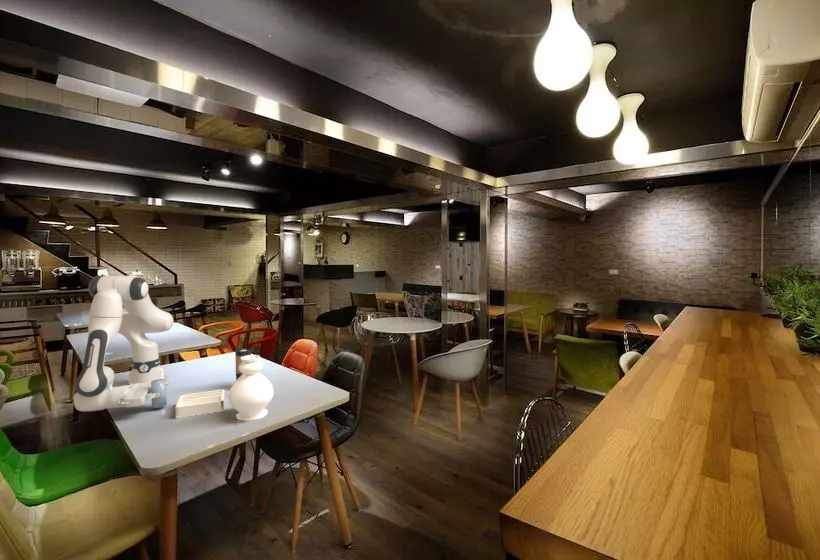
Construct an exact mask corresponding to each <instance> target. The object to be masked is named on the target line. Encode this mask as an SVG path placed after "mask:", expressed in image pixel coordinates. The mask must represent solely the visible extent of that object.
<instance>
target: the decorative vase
mask: <svg viewBox="0 0 820 560" xmlns="http://www.w3.org/2000/svg"><path fill="white" fill-rule="evenodd" d="M260 360H261V355H258V354H251V355H248V356H244V357H241V361H243V362H242V363H241V364H240V365H239V371H240V372H242V373H243V374H242V375H241V376H240V377H239V378H238V379H237V380H235V381H234V383H232V385H231V387H230V389H229V391H228V403H229V404H230V406H231V407H232V408H233V409H235V410H236V411H237V413H236V415H235V418H236V420H238V421H242V422H248V421H249V422H251V421H256V420H259V419H262V418H264V417H265V416H267V415H268V412H269V410H268V409H267V408H266V407H267V406H268V404H270V402H271V400H272V399H273V397H274V392H275V391H274V386H273V384H272V382H271V381H270V380H269V379H268V378H267V377H266V376H265V375H264V374H262V373H261V372H260V371H261V370H262V369H263V366H264V365H263V363H262V362H261V361H260Z"/></svg>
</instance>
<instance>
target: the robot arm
mask: <svg viewBox="0 0 820 560" xmlns="http://www.w3.org/2000/svg"><path fill="white" fill-rule="evenodd" d="M88 292H89V294H90V296H91V298H93V299H92V302H91V304H90V305H91V306H90V309H89V313H88V314H89V315H88V316H89V317H88V326H87V327H88V328H87V329H88V331H87V332H88V333H87V343H86V348H85V353H84V360H83V365H82V369H81V371H80V373H79V375H78V376H77V378H76V379H75V381H74V390H75V392H76V393H75V394H74V395H73V400H72V403H73V406H74V408H75V409H76V410H77V411H80V412H96V411H97V412H98V411H103V410H105V409H106V410H107V409H118V408H131V407H141V406H144V405H145V404H146V402H147V401H148V400H152V398H155V397H159V396H160V392H155V393H152V394H151V382H152V381H154V380H158V379H165V380H166V385H168V384H169V380H168V377H167V375H166V374H164V368H163V367H162V366H161V358H160V356H159V352H160V351H159V344H158V343H157V342H156V341H155V340H154V339H150V338H149V337H147V335H146V334H153V333H154V334H156V333H159V334H160V333H163V332H168V331H169V330H171V329H172V327H173V325H174V317H173V316H172V314H171V313H170V312H167V311H165V310H162V309H161V308H159V307H157V306H156V305H155V304H154V303H153V301H152V299H151V297H150V294H149V283H148V281H147V280H146V279H145V278H142V277H139V276H138V275H133V274H129V275H95V276H94V277H93V278H91V279H90V280H89V283H88ZM123 308H124V309H123ZM123 310H124V311H126V312H127V313H124V312H123ZM118 334H120V335H122V336H123V337H124V338H125V339H126V340H127V341H128V343H129V344H130V347H131V352H132V361H131V369H132V370H130V371H129V372H128V383H125V384H123V385H120V386H114V382H115V381H114V380H115V376H116V375H115V371H114V370H113V368H112V367H110V366H106V365H105V360H106V352H107V349H108V346H109V345H110V343H111V341H112V340H114V337H116V336H117V335H118Z"/></svg>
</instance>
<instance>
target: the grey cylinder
mask: <svg viewBox="0 0 820 560" xmlns="http://www.w3.org/2000/svg"><path fill="white" fill-rule="evenodd" d="M155 392H160V396H159V397H155V398H152V399H151V407H152V408H154V409H155V408H156V409H157V408H163V407H165V406H167V405H168V403H167V401H168V397H167V384H166V380H165V379H158V380H154V381H152V382H151V394H152V393H155Z"/></svg>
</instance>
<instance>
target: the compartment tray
mask: <svg viewBox="0 0 820 560" xmlns="http://www.w3.org/2000/svg"><path fill="white" fill-rule="evenodd" d="M224 399H225V389H224V388H223V389H216V390H209V391H202V392H195V393H194V392H193V393H185V394H180V395H179V398H178V401H177V403H176V405H175V409H174V410H175V419H176V418H178V419H183V418H182V417H184V418H188V417H189V416H191V417H195V415H197V416H203V415H208V414H207V413H210V414H215V413H214V412H216V413H222V411H223V412H224V411H225V400H224ZM202 414H203V415H202ZM189 418H190V417H189Z"/></svg>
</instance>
